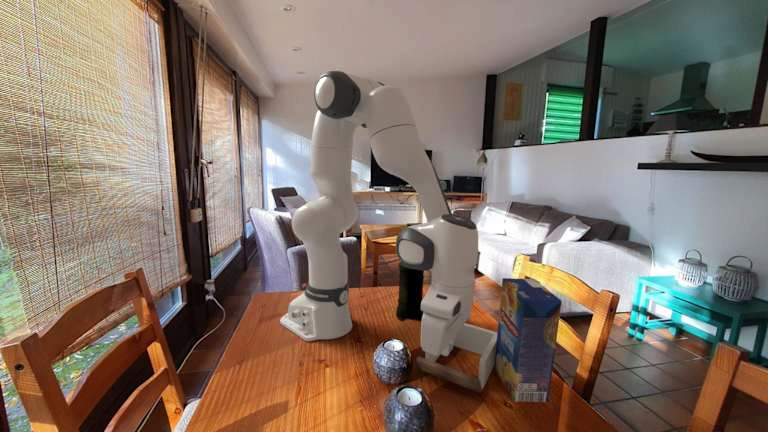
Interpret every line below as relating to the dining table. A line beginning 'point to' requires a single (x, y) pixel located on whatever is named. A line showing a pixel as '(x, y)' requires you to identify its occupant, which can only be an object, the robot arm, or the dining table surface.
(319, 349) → the dining table surface
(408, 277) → the container
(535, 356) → the juice carton
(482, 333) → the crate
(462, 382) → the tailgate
